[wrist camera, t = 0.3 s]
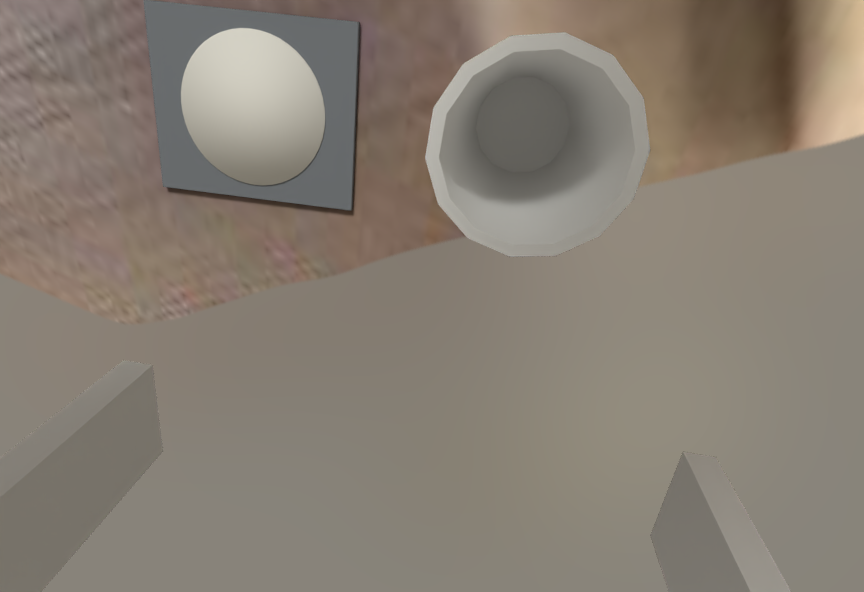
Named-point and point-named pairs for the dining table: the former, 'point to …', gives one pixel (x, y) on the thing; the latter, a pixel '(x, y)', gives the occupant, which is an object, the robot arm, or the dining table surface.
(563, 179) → the foam cup
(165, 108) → the mat
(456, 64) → the dining table surface
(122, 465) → the robot arm
